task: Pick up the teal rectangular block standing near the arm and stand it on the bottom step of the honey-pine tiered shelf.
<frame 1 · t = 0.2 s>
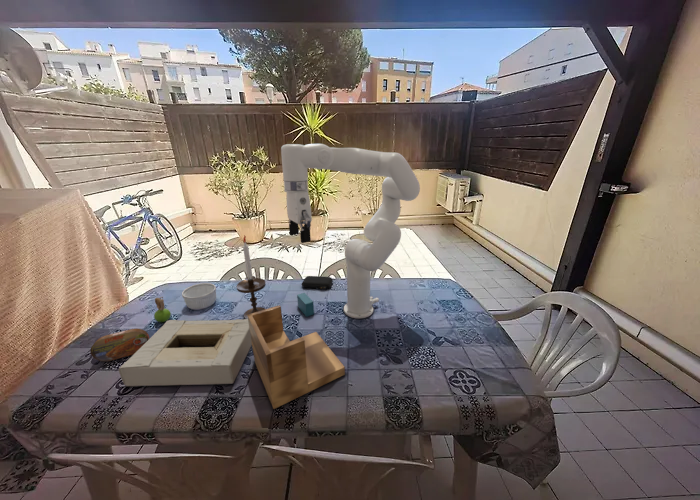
hand: (299, 238, 91), 36 cm above the table, tool pointing down, fingers open, 9 cm apart
teal rectangular block: (305, 310, 115), on the table
ramekin: (202, 303, 121), on the table
candlestick: (255, 315, 112), on the table
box: (199, 357, 90), on the table
carrying case: (317, 285, 137), on the table
tin: (125, 354, 91), on the table
shelf: (298, 368, 85), on the table
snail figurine: (164, 321, 108), on the table
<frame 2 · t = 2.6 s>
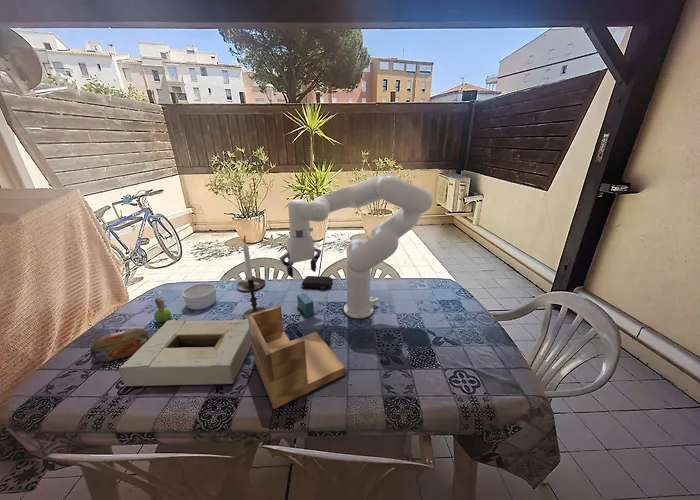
hand: (302, 273, 109), 18 cm above the table, tool pointing down, fingers open, 9 cm apart
nothing on the table moved.
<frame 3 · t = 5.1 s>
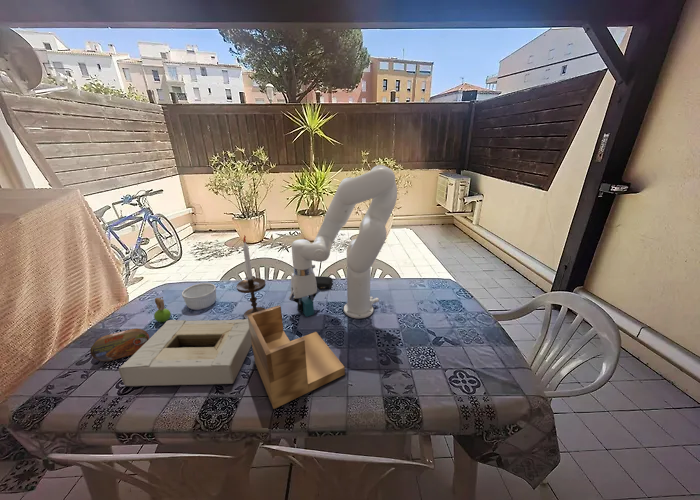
hand: (305, 308, 115), 1 cm above the table, tool pointing down, fingers closed on teal rectangular block, 3 cm apart
teal rectangular block: (305, 310, 115), on the table, touching gripper
everything else where it was.
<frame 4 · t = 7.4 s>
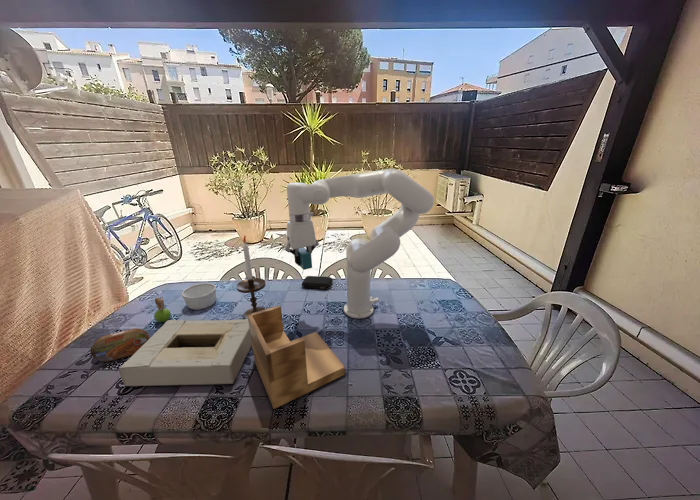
hand: (303, 263, 105), 23 cm above the table, tool pointing down, fingers closed on teal rectangular block, 3 cm apart
teal rectangular block: (303, 264, 106), point 22 cm above the table, touching gripper
everything else where it was.
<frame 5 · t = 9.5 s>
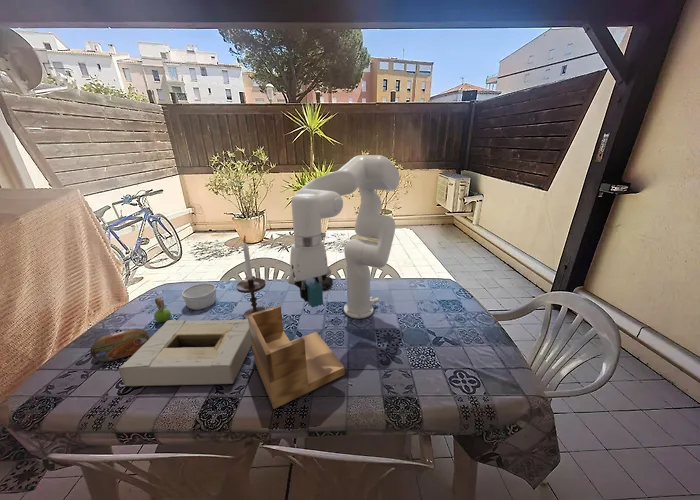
hand: (311, 297, 81), 23 cm above the table, tool pointing down, fingers closed on teal rectangular block, 3 cm apart
teal rectangular block: (311, 299, 81), point 22 cm above the table, touching gripper
everything else where it was.
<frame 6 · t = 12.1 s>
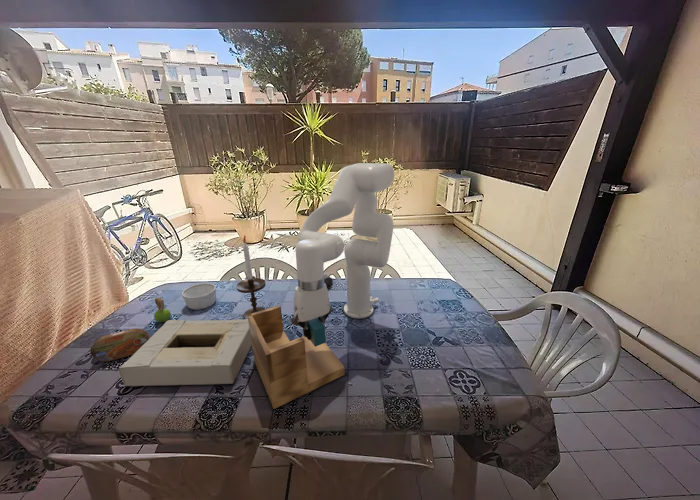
hand: (313, 334, 84), 10 cm above the table, tool pointing down, fingers closed on teal rectangular block, 3 cm apart
teal rectangular block: (313, 336, 84), point 10 cm above the table, touching gripper
everything else where it was.
when the fingers open (4 cm above the table, at t = 13.9 s): teal rectangular block stays where it is, resting on shelf.
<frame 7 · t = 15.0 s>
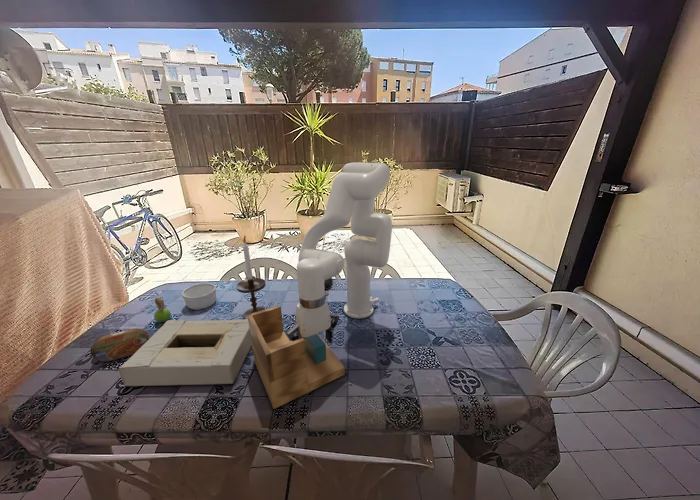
hand: (315, 346, 86), 6 cm above the table, tool pointing down, fingers open, 9 cm apart
teal rectangular block: (315, 353, 87), point 3 cm above the table, touching shelf
everything else where it was.
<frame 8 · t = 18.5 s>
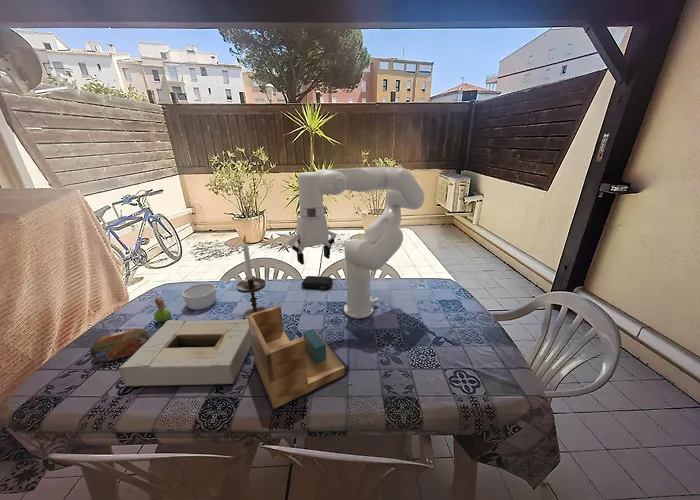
hand: (314, 260, 94), 28 cm above the table, tool pointing down, fingers open, 9 cm apart
nothing on the table moved.
at the end: teal rectangular block inside the target area on the shelf (0.1 cm from its centre), point 3.0 cm above the shelf's base; teal rectangular block tilted 0°; the gripper is holding nothing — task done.
